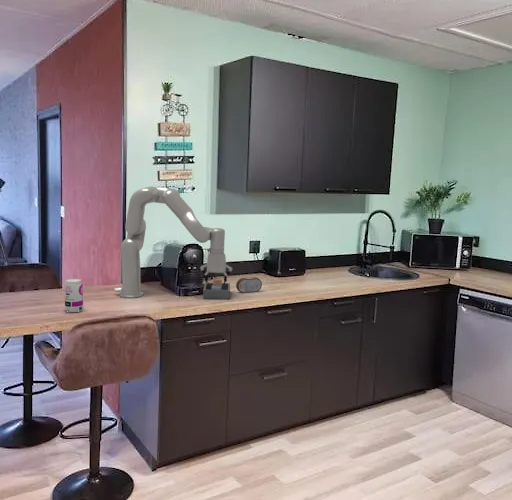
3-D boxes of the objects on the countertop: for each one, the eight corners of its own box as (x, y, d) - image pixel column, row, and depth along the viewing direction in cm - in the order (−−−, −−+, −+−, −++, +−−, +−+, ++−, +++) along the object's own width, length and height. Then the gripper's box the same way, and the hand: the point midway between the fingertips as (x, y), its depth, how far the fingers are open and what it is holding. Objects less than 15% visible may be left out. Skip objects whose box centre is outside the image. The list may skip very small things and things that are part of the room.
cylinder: (212, 292, 291) (212, 280, 289) (213, 290, 295) (213, 278, 294) (221, 293, 291) (222, 280, 290) (222, 290, 296) (222, 278, 295)
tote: (203, 299, 280) (203, 290, 279) (205, 291, 298) (205, 282, 297) (229, 299, 281) (229, 290, 280) (229, 291, 299) (229, 283, 298)
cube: (211, 296, 283) (211, 287, 282) (212, 294, 288) (212, 285, 287) (220, 296, 283) (220, 287, 282) (221, 294, 288) (221, 285, 287)
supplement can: (85, 308, 256) (84, 278, 254) (80, 313, 248) (79, 282, 246) (68, 308, 256) (67, 278, 254) (62, 313, 248) (61, 282, 245)
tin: (260, 290, 303) (260, 276, 302) (262, 291, 300) (262, 277, 299) (235, 292, 298) (236, 277, 296) (237, 293, 295) (238, 279, 293)
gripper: (200, 251, 277) (199, 283, 280) (233, 253, 278) (231, 284, 281) (201, 249, 285) (200, 280, 287) (233, 251, 286) (231, 281, 288)
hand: (215, 282), depth 284 cm, fingers open, 9 cm apart
